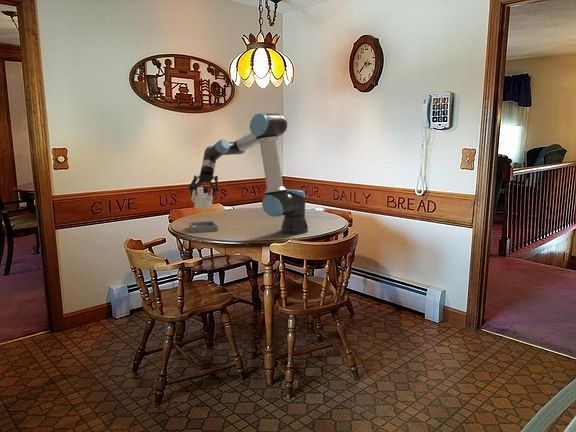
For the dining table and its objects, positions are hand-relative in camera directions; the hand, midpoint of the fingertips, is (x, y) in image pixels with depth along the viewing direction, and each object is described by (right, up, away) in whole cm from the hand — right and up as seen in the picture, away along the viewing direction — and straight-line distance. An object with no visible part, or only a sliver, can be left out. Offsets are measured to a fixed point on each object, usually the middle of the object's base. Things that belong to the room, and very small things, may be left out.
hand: (201, 200), depth 250 cm
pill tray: (0, -16, +6) cm, 17 cm away
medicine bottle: (0, -4, +4) cm, 6 cm away
